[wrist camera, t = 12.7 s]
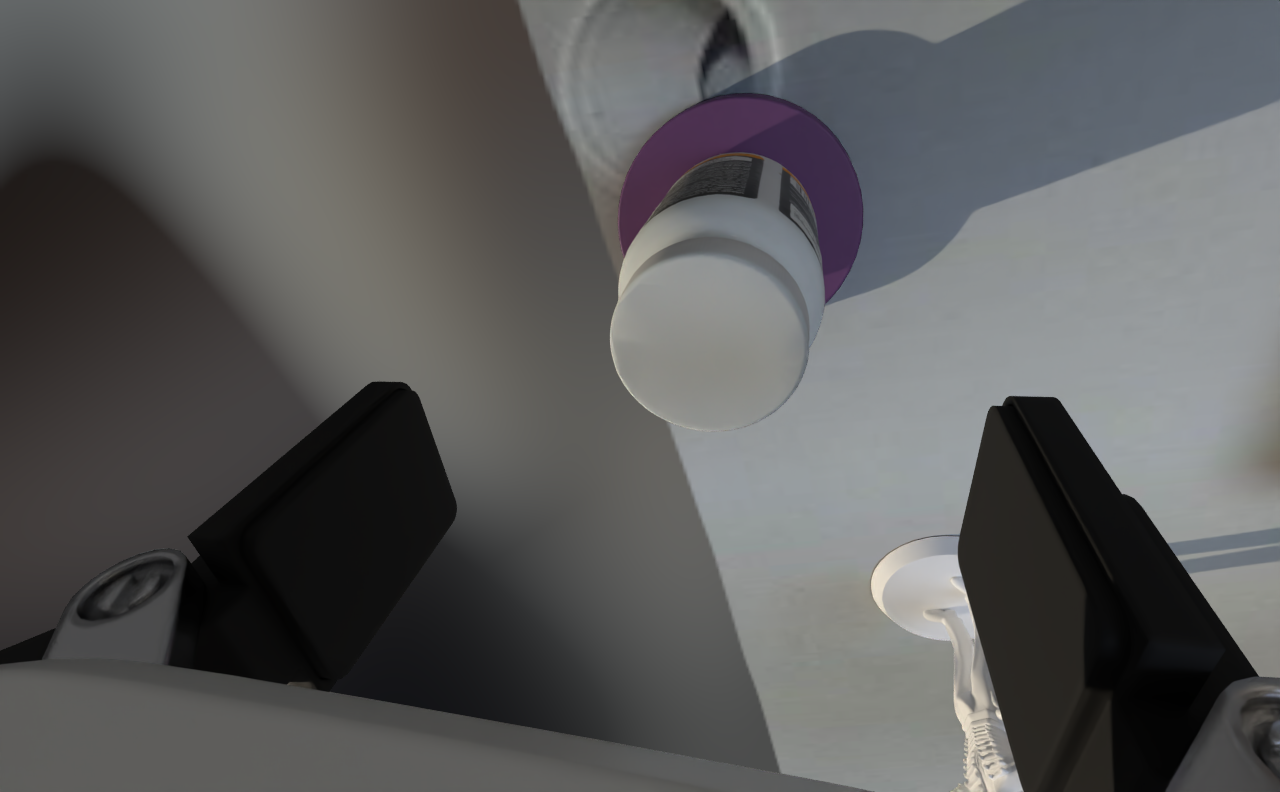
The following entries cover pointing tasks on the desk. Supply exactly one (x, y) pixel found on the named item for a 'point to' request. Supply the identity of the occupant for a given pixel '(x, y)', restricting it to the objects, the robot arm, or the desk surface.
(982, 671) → the figurine
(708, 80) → the desk surface
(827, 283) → the disc
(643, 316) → the pill bottle
